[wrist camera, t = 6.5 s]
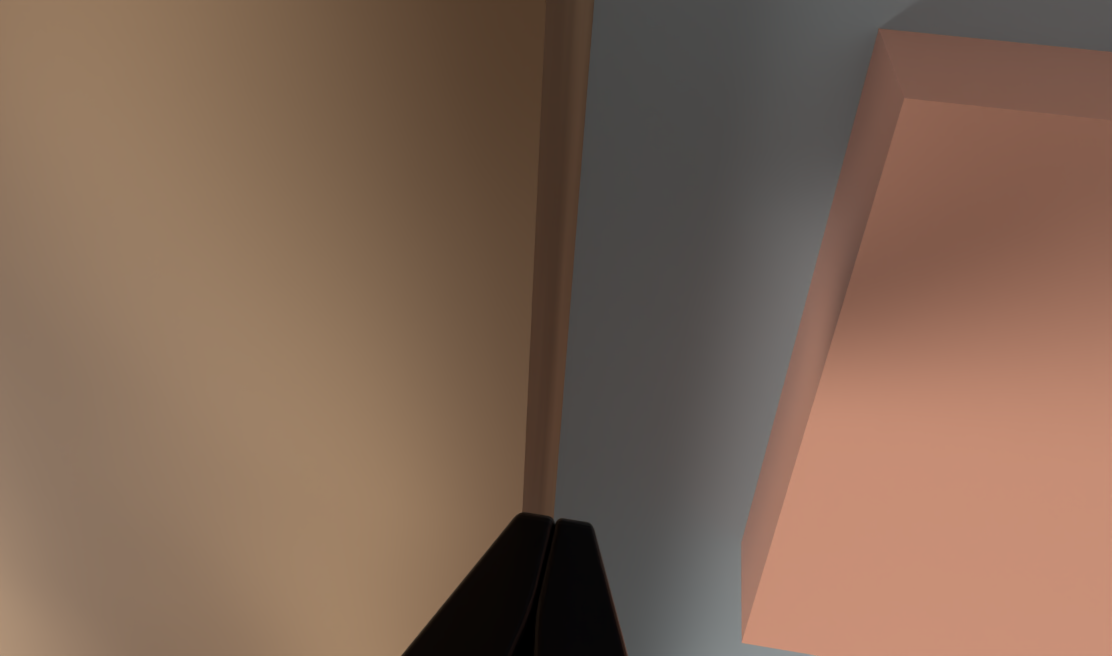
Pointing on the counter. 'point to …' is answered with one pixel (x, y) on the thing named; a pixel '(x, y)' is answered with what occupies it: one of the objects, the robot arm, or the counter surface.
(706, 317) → the mat
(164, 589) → the wooden block
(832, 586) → the pink eraser block
